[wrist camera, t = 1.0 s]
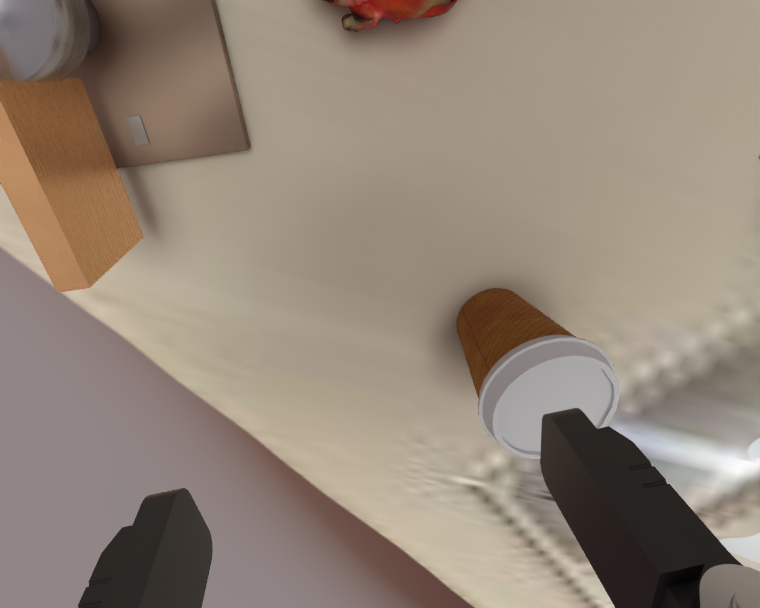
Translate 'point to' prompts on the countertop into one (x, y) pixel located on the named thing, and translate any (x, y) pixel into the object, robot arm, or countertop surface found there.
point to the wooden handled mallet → (58, 145)
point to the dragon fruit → (388, 11)
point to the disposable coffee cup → (530, 370)
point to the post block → (161, 81)
